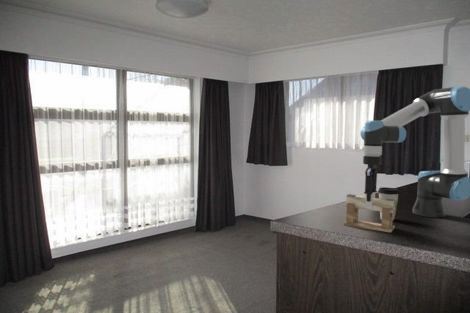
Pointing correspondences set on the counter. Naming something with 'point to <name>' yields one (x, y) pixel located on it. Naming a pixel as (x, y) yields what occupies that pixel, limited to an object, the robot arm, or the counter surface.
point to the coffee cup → (389, 196)
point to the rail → (376, 202)
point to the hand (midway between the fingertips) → (369, 207)
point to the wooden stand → (384, 226)
